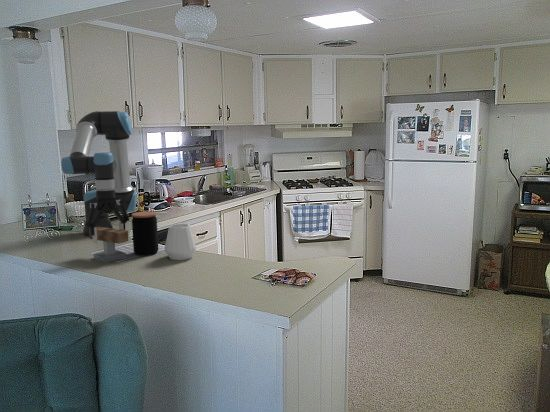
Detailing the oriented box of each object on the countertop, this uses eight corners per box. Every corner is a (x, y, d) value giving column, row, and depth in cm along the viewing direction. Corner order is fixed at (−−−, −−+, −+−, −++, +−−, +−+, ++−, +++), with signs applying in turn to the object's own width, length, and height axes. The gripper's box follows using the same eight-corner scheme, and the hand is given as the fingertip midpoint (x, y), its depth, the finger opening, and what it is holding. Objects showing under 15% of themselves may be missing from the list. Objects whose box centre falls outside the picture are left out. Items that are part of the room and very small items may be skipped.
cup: (194, 261, 191) (193, 228, 189) (162, 261, 191) (160, 229, 188) (197, 252, 205) (196, 222, 202) (167, 253, 204) (166, 222, 201)
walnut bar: (89, 238, 198) (89, 228, 197) (99, 236, 202) (98, 226, 201) (119, 243, 189) (118, 233, 188) (128, 241, 193) (127, 230, 193)
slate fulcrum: (115, 253, 204) (114, 236, 203) (126, 257, 197) (125, 239, 196) (93, 258, 197) (92, 240, 196) (104, 262, 190) (102, 243, 189)
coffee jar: (147, 248, 212) (145, 210, 209) (163, 252, 206) (161, 212, 203) (128, 253, 203) (126, 214, 200) (144, 257, 197) (142, 216, 194)
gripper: (127, 186, 203) (130, 234, 207) (73, 191, 187) (77, 243, 190) (135, 187, 198) (138, 236, 201) (80, 193, 181) (85, 246, 185)
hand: (108, 240), depth 196 cm, fingers open, 11 cm apart
